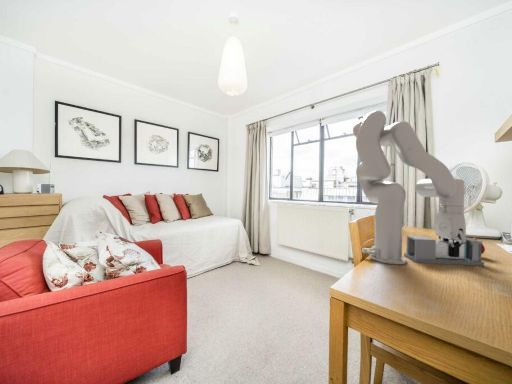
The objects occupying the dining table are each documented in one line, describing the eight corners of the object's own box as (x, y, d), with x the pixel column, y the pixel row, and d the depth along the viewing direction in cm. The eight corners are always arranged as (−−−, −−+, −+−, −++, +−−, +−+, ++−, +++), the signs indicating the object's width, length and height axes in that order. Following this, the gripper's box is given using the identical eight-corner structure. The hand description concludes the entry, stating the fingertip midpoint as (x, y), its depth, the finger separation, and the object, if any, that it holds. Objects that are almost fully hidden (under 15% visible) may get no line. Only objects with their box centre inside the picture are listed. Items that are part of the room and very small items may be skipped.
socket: (472, 261, 82) (472, 241, 82) (458, 255, 88) (458, 237, 88) (481, 261, 82) (482, 241, 81) (466, 256, 88) (467, 237, 88)
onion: (488, 258, 89) (489, 239, 89) (474, 258, 89) (475, 239, 89) (474, 254, 95) (475, 236, 95) (461, 254, 95) (462, 236, 95)
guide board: (415, 262, 84) (416, 239, 84) (404, 255, 92) (404, 235, 91) (484, 265, 81) (484, 241, 81) (466, 258, 89) (466, 237, 89)
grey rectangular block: (423, 257, 85) (423, 242, 85) (417, 254, 89) (417, 240, 89) (466, 259, 83) (466, 243, 83) (458, 256, 87) (458, 241, 87)
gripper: (426, 207, 94) (425, 249, 95) (457, 211, 78) (456, 261, 78) (445, 208, 93) (444, 249, 94) (480, 212, 77) (479, 262, 77)
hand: (449, 254), depth 86 cm, fingers closed on grey rectangular block, 3 cm apart
